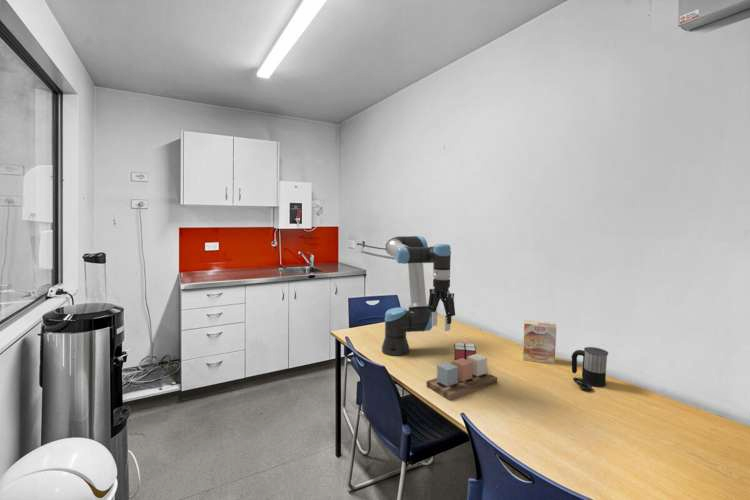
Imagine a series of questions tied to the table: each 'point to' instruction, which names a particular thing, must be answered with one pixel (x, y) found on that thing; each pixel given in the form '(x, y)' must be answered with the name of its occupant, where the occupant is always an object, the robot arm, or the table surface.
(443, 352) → the table surface
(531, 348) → the coffeecake box
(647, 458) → the table surface
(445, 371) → the slate block
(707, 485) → the table surface
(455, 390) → the button board
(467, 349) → the puzzle cube
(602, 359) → the milk frother
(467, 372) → the terracotta block
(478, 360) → the cream block
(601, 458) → the table surface
